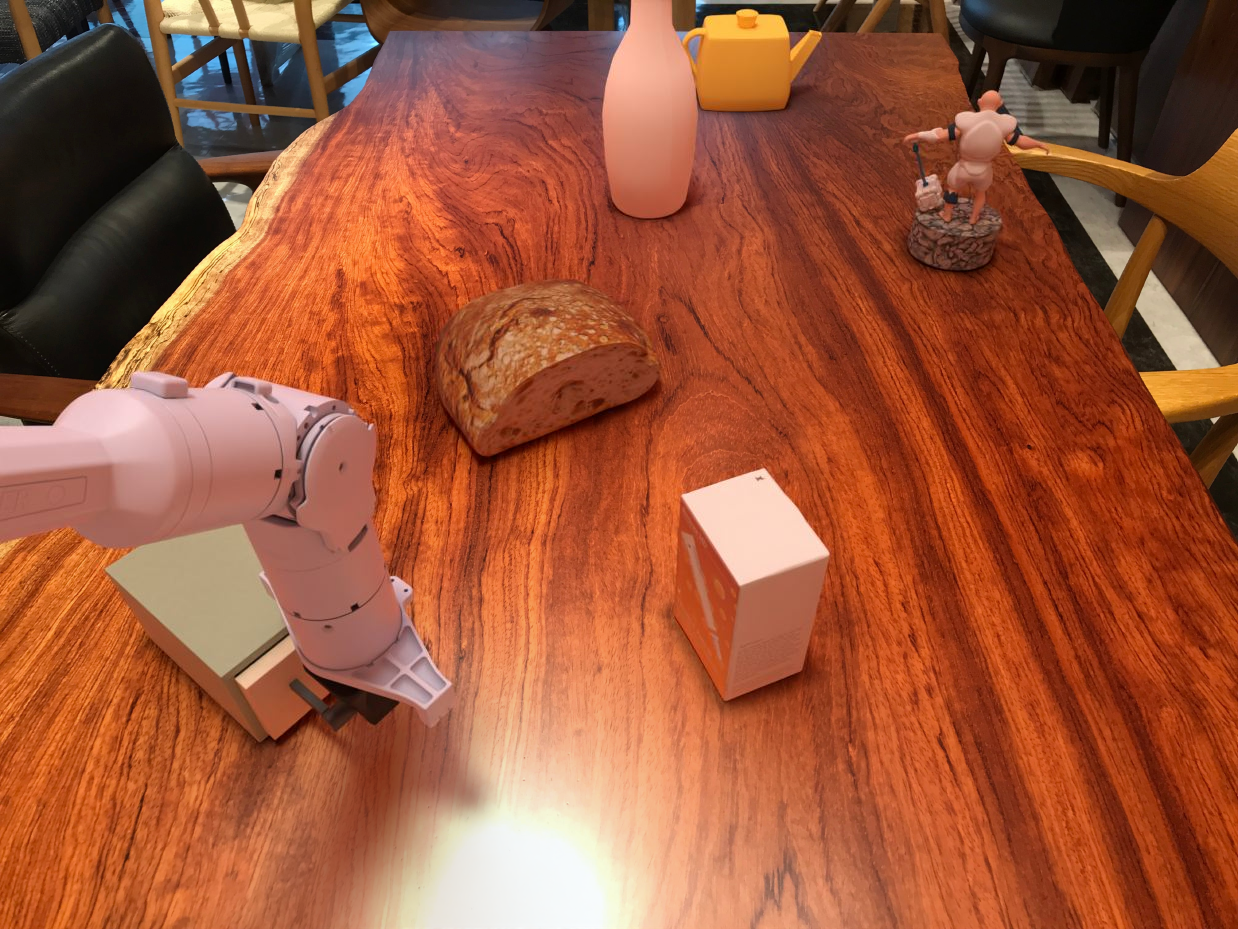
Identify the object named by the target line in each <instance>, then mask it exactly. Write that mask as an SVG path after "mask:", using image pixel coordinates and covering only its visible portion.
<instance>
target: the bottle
mask: <svg viewBox="0 0 1238 929" xmlns="http://www.w3.org/2000/svg"><path fill="white" fill-rule="evenodd" d="M629 19H630V21H629V22H630V23H629V26H628V28H627V30H626V32H625V34H624V36H623V38H622V40H621V41H620V43H619V45H618V47H617V49H616V51H615V53H614V55H613V57H612V60H611V63H610V67H609V71H608V75H607V79H606V81H605V86H604V95H603V104H602V110H601V111H602V113H601V119H602V120H601V122H602V132H603V133H602V134H603V136H602V137H603V146H604V147H603V149H604V161H605V162H604V163H605V167H606V175H607V179H608V185H609V191H610V195H611V201H612V202H613V204H614V206H615V207H616V208H617V209H618V210H619V211H620V212H622V213H623V214H625V215H628V216H630V217H632V218H639V219H658V218H659V219H660V218H665V217H667V216H671V215H673V214H675V213H676V212H677V211H679V210H680V209H681V208H682V207H683V205H684V204H685V202H686V200H687V197H688V196H687V195H688V190H689V186H690V180H691V177H692V176H691V175H692V171H693V168H694V167H693V166H694V160H695V152H696V139H697V131H698V122H699V121H698V120H699V109H698V100H697V89H696V88H695V82H694V76H693V74H692V70H691V66H690V62H689V58H688V56H687V54H686V52H685V50H684V47H683V45H682V41H681V39H680V38H679V35H678V33H677V31H676V29H675V27H674V25H673V0H630V18H629Z"/></svg>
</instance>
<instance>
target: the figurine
mask: <svg viewBox="0 0 1238 929" xmlns="http://www.w3.org/2000/svg"><path fill="white" fill-rule="evenodd" d="M1003 105H1004V100H1003V99H1002V97H1001V95H1000V94H999V93H998V92H997V91H996V90H988V91H986V92H984V93H983V94H982V96H981V98H978V99H977V106H979V111H978V112H973V111H970V110H969V111H962V112H959V113H957V114H956V115H955V117H954V118H955V119H954V122H953V123H951V124H950V125H948V126H947V128H946V129H945V128H944V129H943V128H942V127H935V128H933V129H931V130H926V131H918V132H915V133H911V134H908V135H906V136H905V137H904V138H903V144H904V145H905V144H908V141H909V142H910V144H912V151H913V153H915V155H916V159H917V164H918V167H919V173H920V177H921V178H920V179H918V180H916V181H915V184H914V186H915V188H916V192H915V193H914V197H915V200H916V204H917V205H916V207H915V210H914V214H913V217H912V222H911V226H910V230H909V234H908V239H907V244H906V246H907V249H908V252H909V253H910V254H911V256H913V257H914V258H915V259H916V260H917V261H919V262H921V263H923V264H925V265H927V266H930V267H934V268H936V269H941V270H947V271H972V270H976V269H979V268H981V267H983V266H985V265H986V264H988V262H989V261H990V260H991V258H992V255H993V252H994V249H995V246H996V243H997V240H998V237H999V234H1000V231H1001V228H1002V225H1003V224H1002V223H1003V220H1002V217H1001V215H1000V213H999V212H998V211H997V210H996V209H994V208H993V207H991V206H989V205H988V204H986V190H988V189H989V188H990V187H991V185H992V183H993V180H994V179H993V178H994V172H993V167H992V163H993V162H992V160H993V159H994V158H995V157H996V156H998V155H999V153H1000V152H1001V149H1002V146H1003V144H1004V141H1005V144H1006V145H1008V146H1009V147H1013V146H1014V147H1016V148H1018V149H1020V150H1022V151H1029V150H1032V149H1033V150H1034V149H1036V148H1037V149H1038V148H1039V149H1040V150H1044V151H1046V153H1045V155H1046V156H1048V155H1049V153H1050V148H1049V147H1048V146H1047V145H1046V144H1045V143H1043V142H1041V141H1039V140H1036V139H1033V138H1031V137H1029V136H1027V135H1021V133H1020V131H1019V130H1018V127H1017V124H1018V120H1017V119H1016V117H1015V116H1014V115H1010V114H1007V113H1002V114H999V113H998V112H997V110H998V109H999V108H1000V107H1001V106H1003ZM958 138H960V141H959V147H958V148H959V155H960V157H961V158H960V159H959V161H957V162H956V163H955V164H954V165H953V166H952V167H951V169H949V172H948V174H947V176H946V184H947V186H948V189H947V190H945V191H944V194H943V188H942V186H941V182H940V180H939V178H938V175H937V174H935V173H934V174H931V175H929V176H926V175H925V171H924V167H923V163H922V159H921V155H920V152H919V151H920V149H919V144H918V142H919V140H923V141H925V142H927V143H928V144H930V145H934V144H938V143H941V142H945V141H949V142H954V141H956V140H957V139H958ZM968 183H973V186H974V190H975V194H976V195H975V198H974V199H970V198H966V197H959V193H958V190H959V189H960V188H962V187H963V186H964V185H965V184H968ZM942 194H943V196H942Z"/></svg>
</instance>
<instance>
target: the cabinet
mask: <svg viewBox="0 0 1238 929" xmlns="http://www.w3.org/2000/svg"><path fill="white" fill-rule="evenodd" d="M103 571H104V572H105V574H106V575H107V576H108V578H109V579H110V581H111V582H112V584H113V585H114V587H115V589H116V590H117V591H118V593H119V595H120V596H121V598H122V599H123V600H124V602H125V604H126V605H127V606H128V608H129V609H130V611H131V613H132V614H133V615H134V617H135V618H136V620H137V621H138V623H139V625H140V626H141V627H142V629H143V630H144V632H145V634H146V635H147V636H148V637H149V639H150V640H151V641H152V642H153V643H154V644H155V645H156V646H157V647H159V648H160V650H161V651H163V653H164V654H166V655H167V656H168V657H169V658H170V659H171V660H172V661H173V662H174V663H175V664H176V665H177V666H179V668H181V670H182V671H184V672H185V673H186V674H187V675H188V676H189V678H191V679H192V680H193V681H194V682H195V683H196V684H197V685H198V686H199V687H200V688H202V690H203V691H205V692H206V693H207V694H208V695H209V696H210V697H211V698H212V700H214V701H215V702H216V703H217V704H218V705H220V707H221V708H222V709H223V710H224V711H226V713H228V714H229V715H230V716H231V717H232V718H233V719H234V720H235V721H236V722H237V723H238V724H239V725H241V727H242V728H243V729H245V731H247V732H248V733H249V734H250V735H251V736H252V737H253V738H254V739H255V740H256V741H257V742H258V743H262V742H263V741H264V740H266V739H267V738H268V737H269V736H270V735H269V734H268V733H267V732H266V731H265V730H264V729H263V727H262V725H261V724H260V722H259V720H258V718H257V717H256V715H255V713H254V712H253V710H252V708H251V706H250V705H249V703H248V701H247V700H246V698H245V696H244V695H243V693H242V691H241V689H240V688H239V686H238V684H237V683H236V681H235V677H234V676H235V675H236V674H237V673H239V672H240V671H241V670H242V669H244V668H245V667H246V666H247V665H249V664H250V663H251V662H252V661H254V660H255V659H256V658H257V657H259V656H260V655H261V654H262V653H264V652H265V651H266V650H268V649H269V648H270V647H271V646H273V645H274V644H275V643H276V642H278V641H279V640H280V639H281V638H283V637H284V636H285V635H286V634H288V633H289V631H288V629H287V626H286V624H285V622H284V619H283V617H282V614H281V612H280V609H279V607H278V604H277V602H276V600H274V599H273V598H272V597H270V596H269V595H268V594H267V592H266V590H265V588H264V585H263V583H262V581H261V579H260V577H259V574H260V573H261V572H263V571H264V570H263V568H262V566H261V564H260V562H259V560H258V558H257V555H256V553H255V551H254V549H253V547H252V545H251V542H250V540H249V538H248V536H247V534H246V532H245V530H244V527H243V525H242V524H238V525H234V526H229V527H224V528H220V529H215V530H211V531H206V532H201V533H197V534H192V535H188V536H183V537H179V538H174V539H169V540H165V541H160V542H156V543H151V544H146V545H142V546H137V547H135V548H134V549H132V550H131V551H129V552H128V553H127V554H125V555H124V556H123V555H122V557H120V558H119V559H117V560H116V561H114V562H113V563H111V564H110V565H108V566H106V567H105V568H104V569H103Z"/></svg>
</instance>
